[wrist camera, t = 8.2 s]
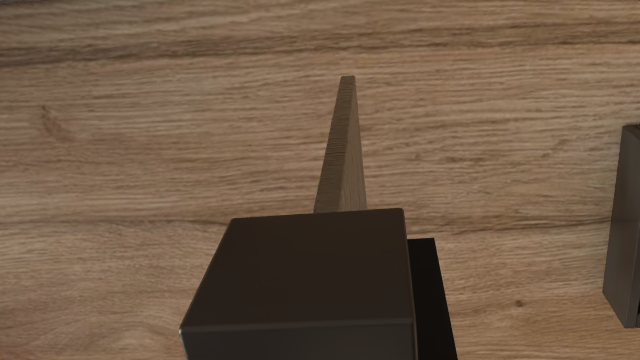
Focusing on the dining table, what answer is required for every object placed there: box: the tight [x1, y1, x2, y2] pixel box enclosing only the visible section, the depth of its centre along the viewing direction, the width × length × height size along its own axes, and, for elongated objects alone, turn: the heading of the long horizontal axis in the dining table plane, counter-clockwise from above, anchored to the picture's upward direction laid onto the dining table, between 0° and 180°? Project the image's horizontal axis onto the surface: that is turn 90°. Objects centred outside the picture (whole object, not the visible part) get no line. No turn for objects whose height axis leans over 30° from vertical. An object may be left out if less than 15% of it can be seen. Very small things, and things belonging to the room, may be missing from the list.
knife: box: [179, 76, 418, 360], centre depth 12 cm, size 9×2×11 cm, turn 7°
